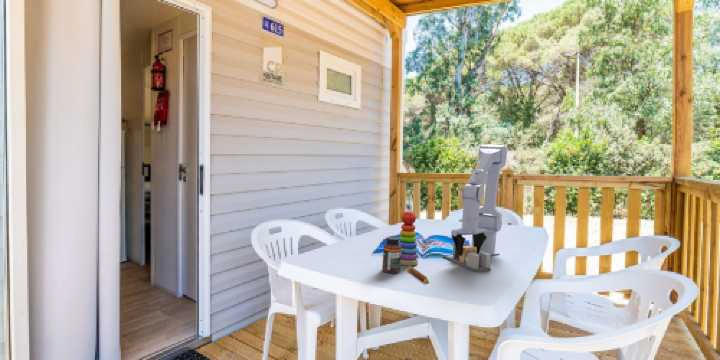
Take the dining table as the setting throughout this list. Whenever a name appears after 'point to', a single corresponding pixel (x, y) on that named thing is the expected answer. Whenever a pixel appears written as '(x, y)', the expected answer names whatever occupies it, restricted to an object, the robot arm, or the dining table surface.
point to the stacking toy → (408, 240)
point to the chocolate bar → (418, 275)
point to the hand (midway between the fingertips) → (467, 254)
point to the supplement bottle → (391, 255)
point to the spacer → (465, 248)
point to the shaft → (466, 252)
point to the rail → (456, 260)
